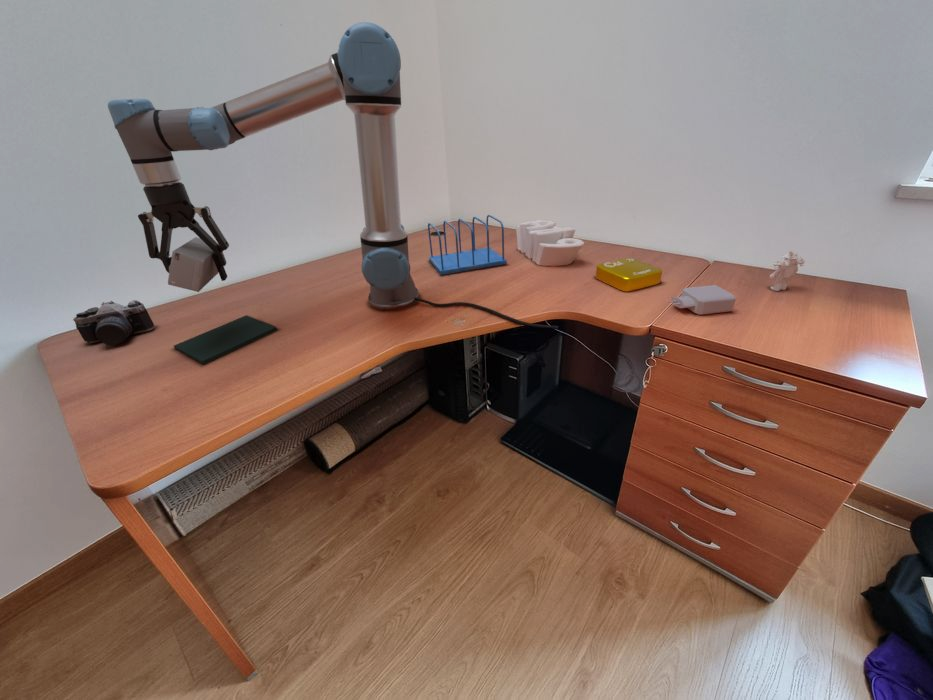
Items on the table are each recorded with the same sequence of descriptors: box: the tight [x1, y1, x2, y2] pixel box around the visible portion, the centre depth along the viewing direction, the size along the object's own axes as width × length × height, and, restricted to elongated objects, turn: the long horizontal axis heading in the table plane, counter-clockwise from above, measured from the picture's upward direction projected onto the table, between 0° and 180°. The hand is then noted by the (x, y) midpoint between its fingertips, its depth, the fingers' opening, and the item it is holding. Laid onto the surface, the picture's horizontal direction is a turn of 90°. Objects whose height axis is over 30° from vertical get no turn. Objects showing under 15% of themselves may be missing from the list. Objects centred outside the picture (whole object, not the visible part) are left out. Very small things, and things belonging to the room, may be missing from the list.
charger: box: [668, 284, 737, 316], centre depth 107 cm, size 5×9×15 cm
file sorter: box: [427, 214, 508, 276], centre depth 145 cm, size 25×17×15 cm
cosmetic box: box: [167, 236, 219, 293], centre depth 96 cm, size 8×7×16 cm
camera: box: [72, 299, 155, 346], centre depth 106 cm, size 16×10×10 cm, turn 117°
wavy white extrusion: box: [515, 219, 585, 267], centre depth 151 cm, size 35×16×11 cm, turn 13°
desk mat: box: [173, 315, 278, 365], centre depth 106 cm, size 15×20×1 cm
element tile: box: [595, 257, 663, 293], centre depth 126 cm, size 15×15×5 cm
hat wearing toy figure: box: [768, 250, 806, 292], centre depth 113 cm, size 9×4×12 cm, turn 103°
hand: (203, 281), depth 97 cm, fingers closed on cosmetic box, 9 cm apart
